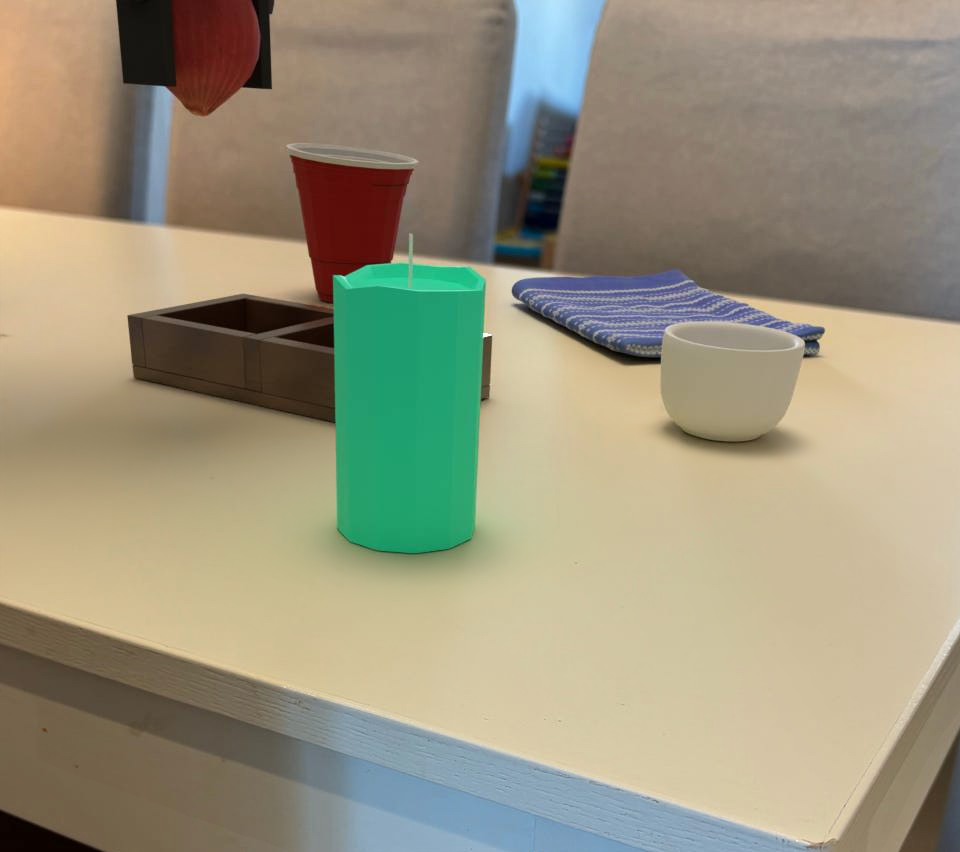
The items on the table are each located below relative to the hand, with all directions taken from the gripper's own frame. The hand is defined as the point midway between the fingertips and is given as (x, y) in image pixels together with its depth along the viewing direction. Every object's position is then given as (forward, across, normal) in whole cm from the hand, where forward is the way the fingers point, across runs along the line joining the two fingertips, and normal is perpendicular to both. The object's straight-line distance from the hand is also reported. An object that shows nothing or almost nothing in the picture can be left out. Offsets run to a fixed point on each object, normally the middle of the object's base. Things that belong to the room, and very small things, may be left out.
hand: (200, 85), depth 54 cm
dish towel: (+17, +41, -8) cm, 45 cm away
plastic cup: (+17, +34, +17) cm, 41 cm away
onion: (+2, 0, 0) cm, 2 cm away
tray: (+17, +8, 0) cm, 18 cm away
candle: (+17, -7, -18) cm, 26 cm away
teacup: (+17, +17, -22) cm, 33 cm away
